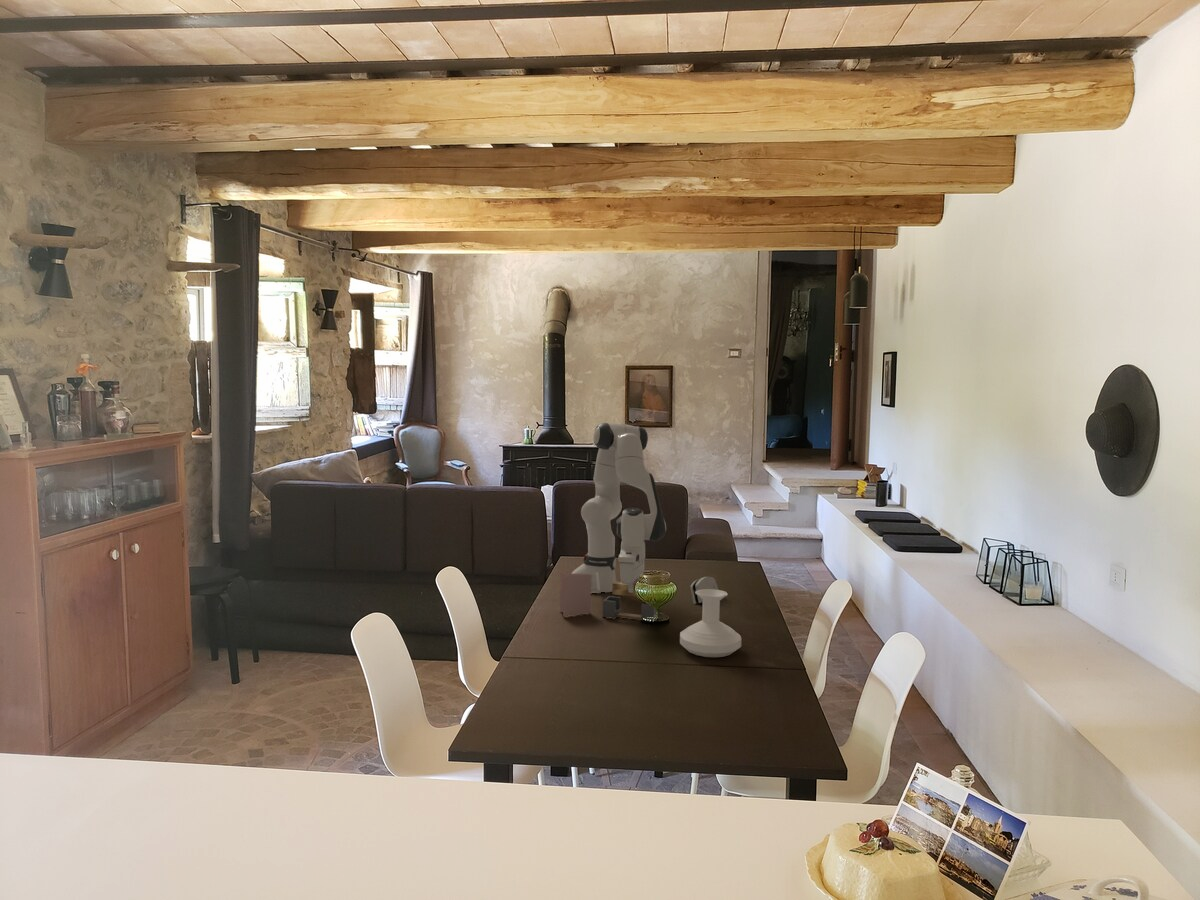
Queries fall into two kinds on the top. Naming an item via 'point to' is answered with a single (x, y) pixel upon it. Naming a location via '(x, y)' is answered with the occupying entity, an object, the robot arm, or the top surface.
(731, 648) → the candle holder
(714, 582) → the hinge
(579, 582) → the greeting card
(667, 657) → the top surface
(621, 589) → the oak slat
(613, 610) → the end cap frame
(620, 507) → the robot arm
